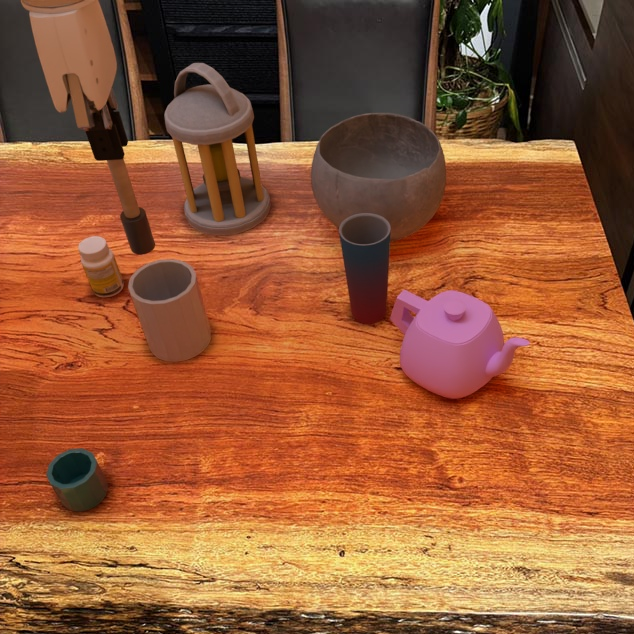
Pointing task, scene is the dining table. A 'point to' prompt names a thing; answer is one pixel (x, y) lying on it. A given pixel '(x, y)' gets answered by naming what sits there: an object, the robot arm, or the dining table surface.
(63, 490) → the holder
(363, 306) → the cup
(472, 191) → the dining table surface
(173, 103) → the lantern
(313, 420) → the dining table surface
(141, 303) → the grey pencil pot
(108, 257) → the supplement bottle
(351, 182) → the bowl
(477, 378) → the teapot
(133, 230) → the wooden handled tool
